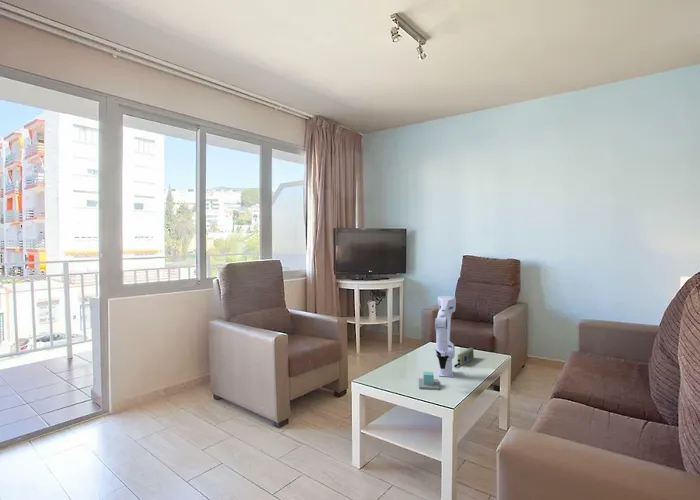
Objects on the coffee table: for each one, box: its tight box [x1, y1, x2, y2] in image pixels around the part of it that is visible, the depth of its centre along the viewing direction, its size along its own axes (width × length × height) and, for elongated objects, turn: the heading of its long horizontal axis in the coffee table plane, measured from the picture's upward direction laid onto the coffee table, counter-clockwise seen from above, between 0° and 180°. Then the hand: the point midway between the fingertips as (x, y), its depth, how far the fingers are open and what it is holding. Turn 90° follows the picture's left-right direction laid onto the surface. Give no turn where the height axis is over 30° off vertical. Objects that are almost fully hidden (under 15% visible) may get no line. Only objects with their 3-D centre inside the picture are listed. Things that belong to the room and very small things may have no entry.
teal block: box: [422, 371, 435, 385], centre depth 194 cm, size 5×5×5 cm
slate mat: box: [418, 378, 440, 391], centre depth 194 cm, size 12×10×1 cm
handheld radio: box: [453, 347, 475, 368], centre depth 229 cm, size 7×3×25 cm
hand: (442, 366), depth 194 cm, fingers open, 7 cm apart
